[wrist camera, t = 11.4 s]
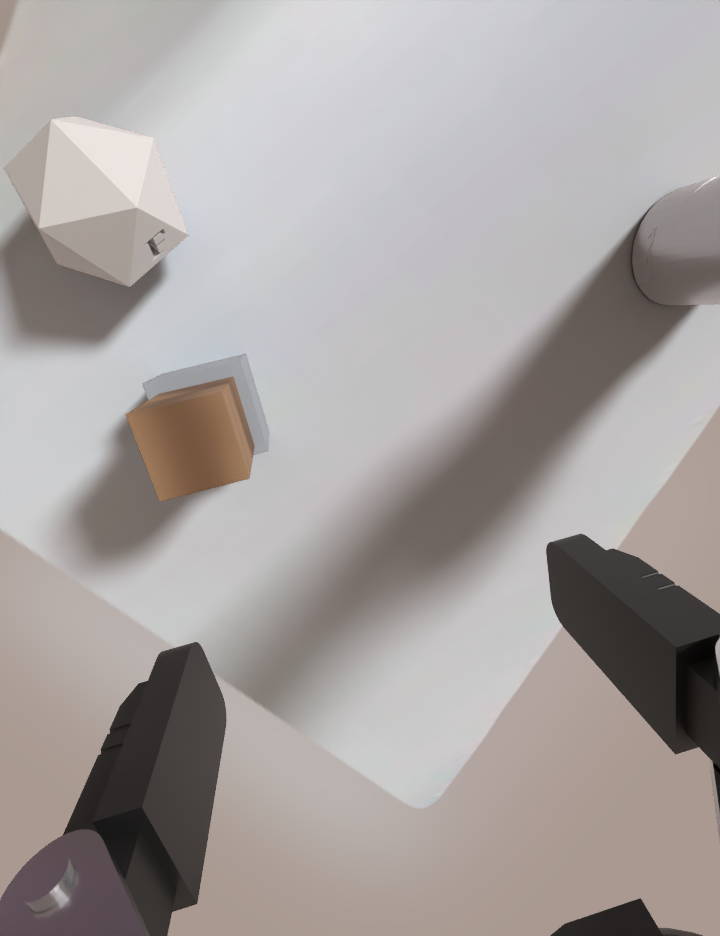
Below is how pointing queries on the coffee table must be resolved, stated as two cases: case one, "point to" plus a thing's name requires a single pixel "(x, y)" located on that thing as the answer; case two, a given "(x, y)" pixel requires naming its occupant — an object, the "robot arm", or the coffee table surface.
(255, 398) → the grey block
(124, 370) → the coffee table surface
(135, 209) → the die
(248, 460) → the walnut block
